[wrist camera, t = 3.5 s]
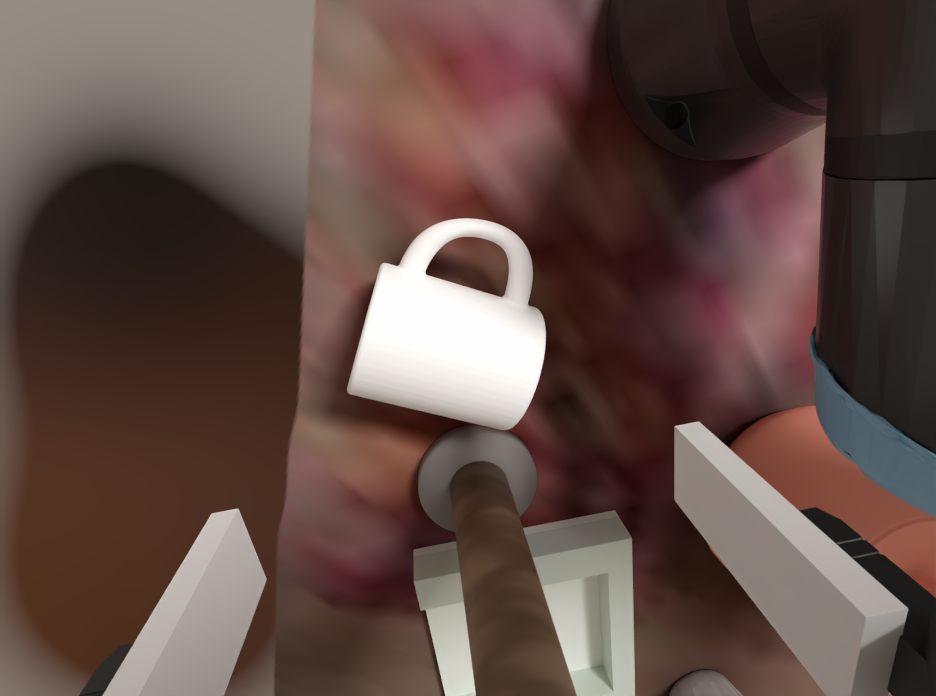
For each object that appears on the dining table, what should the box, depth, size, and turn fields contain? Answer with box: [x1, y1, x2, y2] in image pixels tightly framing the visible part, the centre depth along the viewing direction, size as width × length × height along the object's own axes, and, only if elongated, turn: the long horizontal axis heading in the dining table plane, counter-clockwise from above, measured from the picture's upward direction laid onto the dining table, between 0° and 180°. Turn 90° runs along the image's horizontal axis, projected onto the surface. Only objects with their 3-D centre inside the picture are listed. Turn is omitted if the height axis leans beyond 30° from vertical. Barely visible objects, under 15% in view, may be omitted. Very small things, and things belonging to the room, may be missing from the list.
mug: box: [347, 218, 546, 430], centre depth 29 cm, size 12×10×8 cm
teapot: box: [708, 405, 936, 597], centre depth 35 cm, size 25×17×13 cm
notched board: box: [413, 510, 635, 696], centre depth 42 cm, size 17×20×3 cm
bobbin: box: [418, 424, 577, 696], centre depth 27 cm, size 9×9×23 cm
